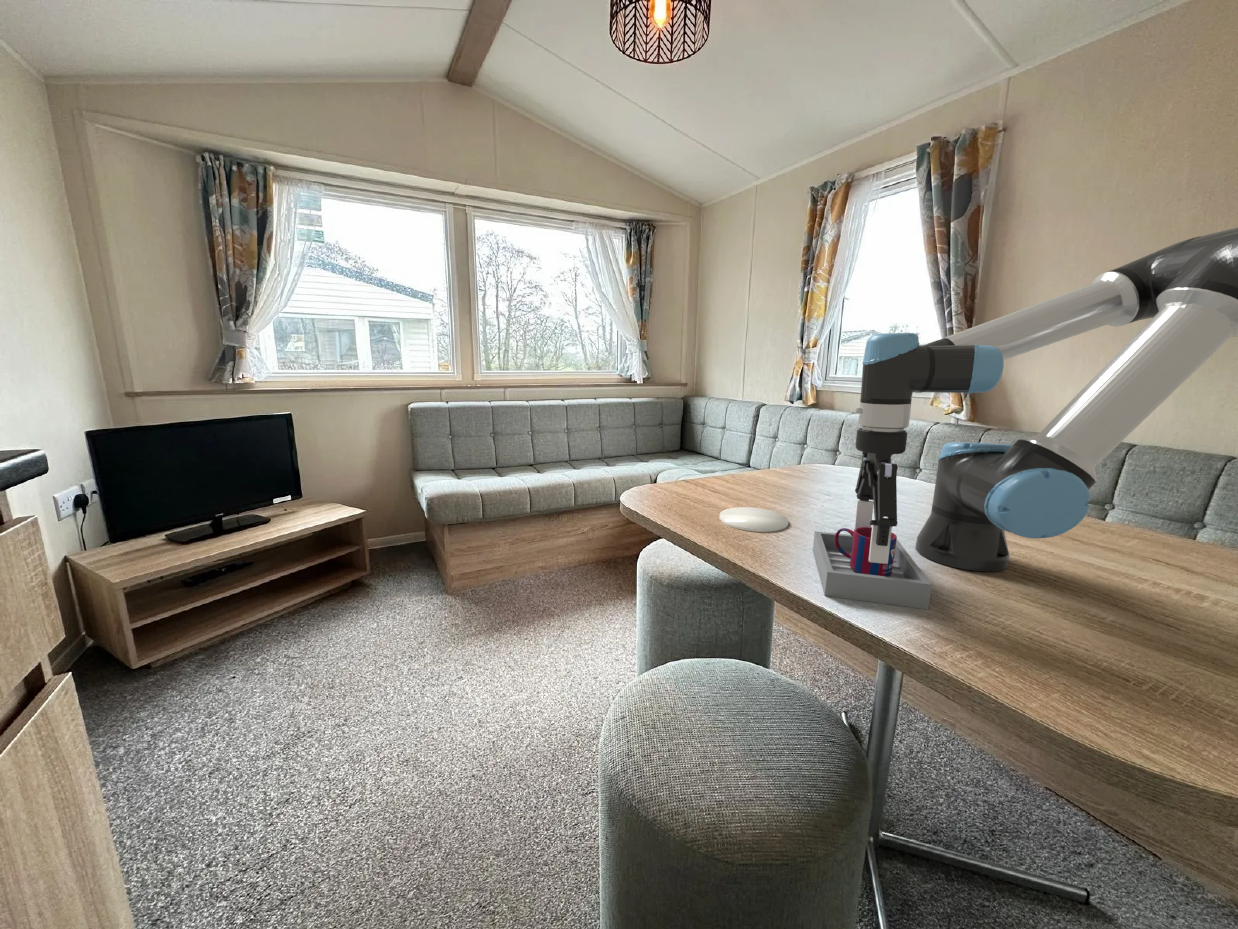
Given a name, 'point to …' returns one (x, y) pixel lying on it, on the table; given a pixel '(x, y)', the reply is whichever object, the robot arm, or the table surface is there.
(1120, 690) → the table surface
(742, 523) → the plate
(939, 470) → the robot arm
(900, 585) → the rack
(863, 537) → the mug
